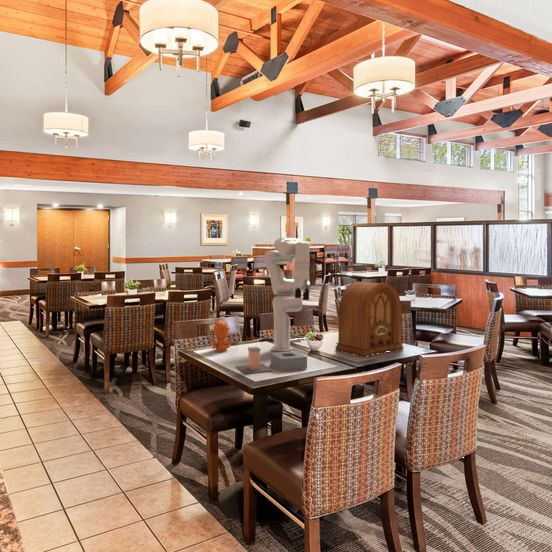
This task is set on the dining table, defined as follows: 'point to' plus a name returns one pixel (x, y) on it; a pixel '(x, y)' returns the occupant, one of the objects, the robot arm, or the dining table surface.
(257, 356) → the peach cylinder
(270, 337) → the clipboard
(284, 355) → the grey square base
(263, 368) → the mat
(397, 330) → the radio
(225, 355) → the dining table surface
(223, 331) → the toy dinosaur
